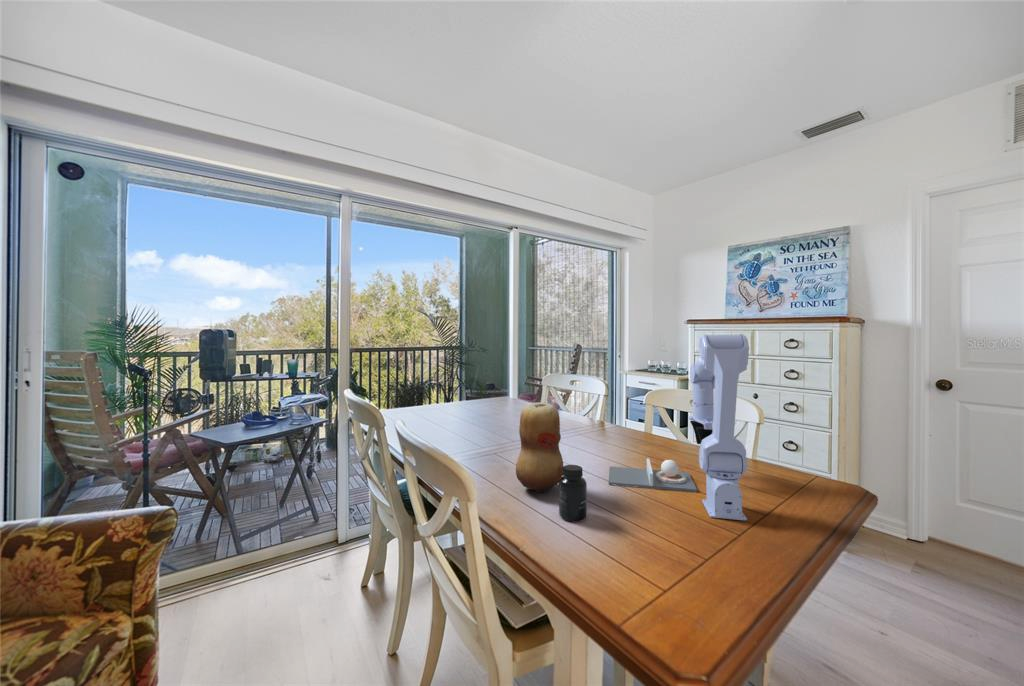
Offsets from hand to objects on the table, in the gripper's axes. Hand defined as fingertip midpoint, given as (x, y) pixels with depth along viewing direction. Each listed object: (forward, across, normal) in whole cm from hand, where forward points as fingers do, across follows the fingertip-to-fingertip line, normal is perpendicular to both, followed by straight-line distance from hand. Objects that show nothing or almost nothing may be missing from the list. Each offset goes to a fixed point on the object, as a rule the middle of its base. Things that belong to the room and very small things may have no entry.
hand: (703, 447), depth 117 cm
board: (+9, +5, -16) cm, 19 cm away
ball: (+6, +4, -10) cm, 12 cm away
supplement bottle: (+10, +34, -36) cm, 50 cm away
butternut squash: (+10, +20, -47) cm, 52 cm away
